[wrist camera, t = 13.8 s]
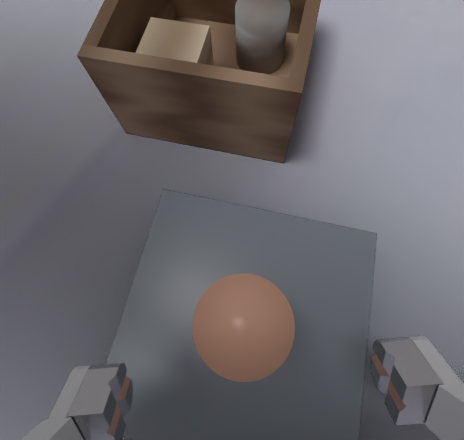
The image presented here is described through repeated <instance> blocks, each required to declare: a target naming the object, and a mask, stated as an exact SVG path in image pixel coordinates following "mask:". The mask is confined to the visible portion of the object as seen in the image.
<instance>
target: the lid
mask: <svg viewBox="0 0 464 440" xmlns="http://www.w3.org/2000/svg"><path fill="white" fill-rule="evenodd" d="M376 240H377V233H373V232H368V231H363V230H359V229H354V228H349V227H344V226H339V225H334V224H330V223H325V222H320V221H315V220H310V219H305V218H301V217H296V216H291V215H286V214H281V213H276V212H272V211H267V210H262V209H257V208H252V207H247V206H243V205H238V204H233V203H228V202H223V201H218V200H214V199H209V198H204V197H199V196H194V195H189V194H185V193H180V192H175V191H170V190H165V189H163V191H162V194H161V197H160V200H159V204H158V207H157V210H156V213H155V216H154V219H153V222H152V225H151V228H150V231H149V234H148V237H147V240H146V243H145V246H144V249H143V252H142V255H141V258H140V261H139V264H138V267H137V270H136V273H135V276H134V279H133V282H132V285H131V288H130V291H129V294H128V297H127V301H126V304H125V307H124V310H123V313H122V316H121V319H120V322H119V325H118V328H117V331H116V334H115V337H114V340H113V343H112V346H111V349H110V352H109V355H108V358H107V361H106V364H117V363H125V366H126V368H127V372H126V376H127V377H129V378H130V379H131V381H132V385H133V399H132V404H131V408H130V411H129V412H128V413H127V414H126V415H125V417H124V418H123V419H124V422H125V424H126V427H125V431H124V435H123V437H124V438H127V439H130V440H359V431H360V420H361V409H362V397H363V386H364V375H365V364H366V352H367V341H368V330H369V319H370V307H371V296H372V285H373V274H374V262H375V251H376Z"/></svg>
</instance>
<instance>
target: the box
mask: <svg viewBox="0 0 464 440" xmlns="http://www.w3.org/2000/svg"><path fill="white" fill-rule="evenodd" d="M320 2H321V0H105V1H104V3H103V5H102V7H101V9H100V11H99V13H98V15H97V17H96V19H95V21H94V23H93V25H92V27H91V29H90V31H89V33H88V35H87V37H86V39H85V41H84V43H83V45H82V47H81V49H80V51H79V53H78V55H77V57H78V58H79V60H80V61H81V63H82V64H83V66H84V68H85V69H86V71H87V72H88V74H89V76H90V77H91V79H92V80H93V82H94V83H95V85H96V87H97V88H98V90H99V91H100V93H101V94H102V96H103V98H104V99H105V101H106V102H107V104H108V105H109V107H110V109H111V110H112V112H113V113H114V115H115V117H116V118H117V120H118V121H119V123H120V124H121V126H122V128H123V129H124V131H125V132H126V133H128V134H134V135H139V136H144V137H149V138H155V139H160V140H165V141H170V142H176V143H181V144H186V145H191V146H196V147H202V148H207V149H212V150H217V151H223V152H228V153H233V154H238V155H243V156H249V157H254V158H259V159H264V160H270V161H275V162H280V163H284V160H285V156H286V152H287V148H288V145H289V141H290V137H291V133H292V129H293V126H294V122H295V118H296V114H297V111H298V107H299V103H300V99H301V96H302V91H303V86H304V81H305V76H306V71H307V67H308V62H309V57H310V52H311V47H312V42H313V37H314V32H315V27H316V22H317V17H318V12H319V7H320Z"/></svg>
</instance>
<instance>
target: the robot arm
mask: <svg viewBox="0 0 464 440" xmlns="http://www.w3.org/2000/svg"><path fill="white" fill-rule="evenodd" d="M373 349H374V351H375V354H374V355H373V356H372V357H371V362H370V367H371V374H372V377H373V380H374V382H375V384H376V386H377V388H378V389H379V390H380V391H381V392H383V393H384V394H385V395H386V398H385V405H386V407H387V409H388V411H389V413H390V415H391V417H392V419H393V421H394V423H395V425H408V424H425V426H426V427H427V428H428V429H429V430H430V431H431V432H433V433H434V434H435V435H436V436H437V437H438V438H439V439H440V440H464V383H462V381H461V380H460V379H459V377H458V376H457V375H456V374H455V372H454V371H453V370H452V369H451V367H450V366H449V365H448V363H447V362H446V361H445V360H444V358H443V357H442V356H441V354H440V353H439V352H438V351H437V349H436V348H435V347H434V346H433V344H432V343H431V342H430V340H429V339H428V338H427V337H425V336H415V337H400V338H391V339H381V340H376V341H375V342H374V345H373ZM126 372H127V368H126V366H125V363H117V364H100V365H86V366H76V367H75V368H74V369H73V370H72V371H71V373H70V375H69V377H68V379H67V381H66V383H65V385H64V387H63V389H62V391H61V394H60V396H59V398H58V400H57V402H56V404H55V406H54V408H53V410H52V412H51V414H50V416H49V418H48V419H44V420H42V421H41V422H40V423H39V424H38V425H37V426H35V427H34V428H33V429H32V430H31V431H30V432H29V433H28V434H27V435H26V436H25V437H24V438H22V439H21V440H122V439H123V435H124V431H125V427H126V424H125V422H124V419H123V418H124V417H125V415H126V414H127V413H128V412H129V411H130V408H131V404H132V399H133V385H132V381H131V379H130V378H129V377H127V376H126Z"/></svg>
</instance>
